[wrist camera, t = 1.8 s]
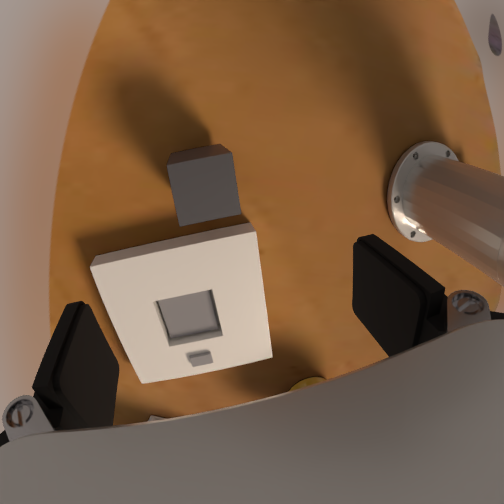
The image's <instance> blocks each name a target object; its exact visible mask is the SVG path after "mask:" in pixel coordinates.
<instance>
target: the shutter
mask: <svg viewBox="0 0 504 504" xmlns="http://www.w3.org/2000/svg"><path fill="white" fill-rule="evenodd" d="M158 302H159V305H160V308H161V311H162V314H163V317H164V319H165V322H166V325H167V328H168V331H169V333H170V336H171V339H172V338H177V337H182V336H187V335H192V334H197V333H202V332H206V331H211V330H216V329H218V325H217V321H216V317H215V313H214V309H213V305H212V301H211V296H210V292H209V290H206V291H202V292H197V293H192V294H187V295H182V296H178V297H173V298H168V299H163V300H158Z"/></svg>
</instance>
